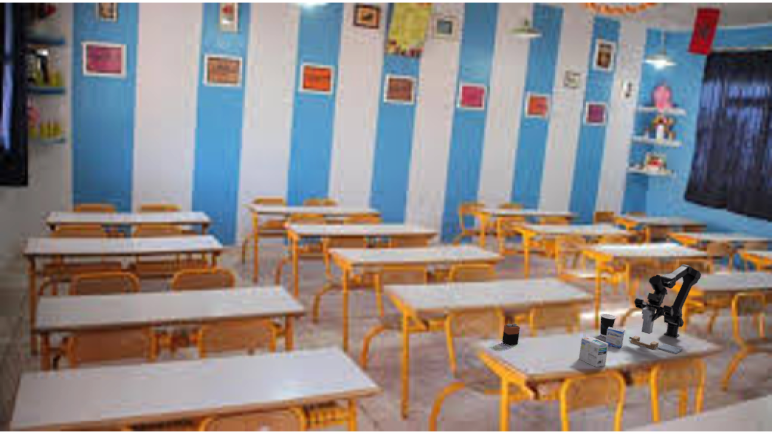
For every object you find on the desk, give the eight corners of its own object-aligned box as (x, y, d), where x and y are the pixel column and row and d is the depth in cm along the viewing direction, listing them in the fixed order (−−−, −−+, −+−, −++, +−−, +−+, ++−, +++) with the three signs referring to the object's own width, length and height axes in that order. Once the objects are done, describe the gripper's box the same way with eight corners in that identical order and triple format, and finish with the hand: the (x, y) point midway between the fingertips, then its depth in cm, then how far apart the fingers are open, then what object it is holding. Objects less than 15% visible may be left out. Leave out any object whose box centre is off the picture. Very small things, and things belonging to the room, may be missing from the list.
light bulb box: (605, 365, 304) (609, 343, 302) (596, 367, 301) (599, 345, 299) (587, 357, 313) (590, 335, 311) (578, 359, 309) (581, 337, 308)
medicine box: (604, 344, 333) (607, 328, 332) (606, 342, 337) (608, 326, 336) (620, 348, 330) (623, 332, 328) (622, 346, 334) (624, 329, 332)
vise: (631, 338, 346) (631, 334, 346) (657, 346, 337) (658, 342, 337) (626, 341, 342) (627, 336, 341) (653, 349, 333) (654, 344, 332)
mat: (663, 345, 341) (664, 343, 341) (681, 350, 335) (682, 348, 335) (657, 348, 334) (658, 347, 334) (676, 354, 328) (676, 352, 328)
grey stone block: (644, 330, 341) (648, 306, 339) (652, 332, 338) (655, 308, 336) (638, 333, 335) (642, 308, 333) (646, 335, 332) (650, 311, 330)
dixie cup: (595, 335, 346) (598, 315, 344) (599, 332, 353) (602, 312, 351) (611, 339, 342) (614, 319, 340) (614, 335, 349) (617, 316, 347)
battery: (501, 342, 323) (504, 323, 321) (512, 341, 326) (515, 322, 324) (506, 345, 319) (509, 326, 317) (518, 344, 322) (520, 325, 320)
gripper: (638, 283, 343) (627, 306, 337) (674, 291, 331) (664, 316, 325) (641, 295, 350) (630, 318, 344) (677, 304, 338) (667, 328, 332)
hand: (647, 320), depth 336 cm, fingers closed on grey stone block, 4 cm apart
